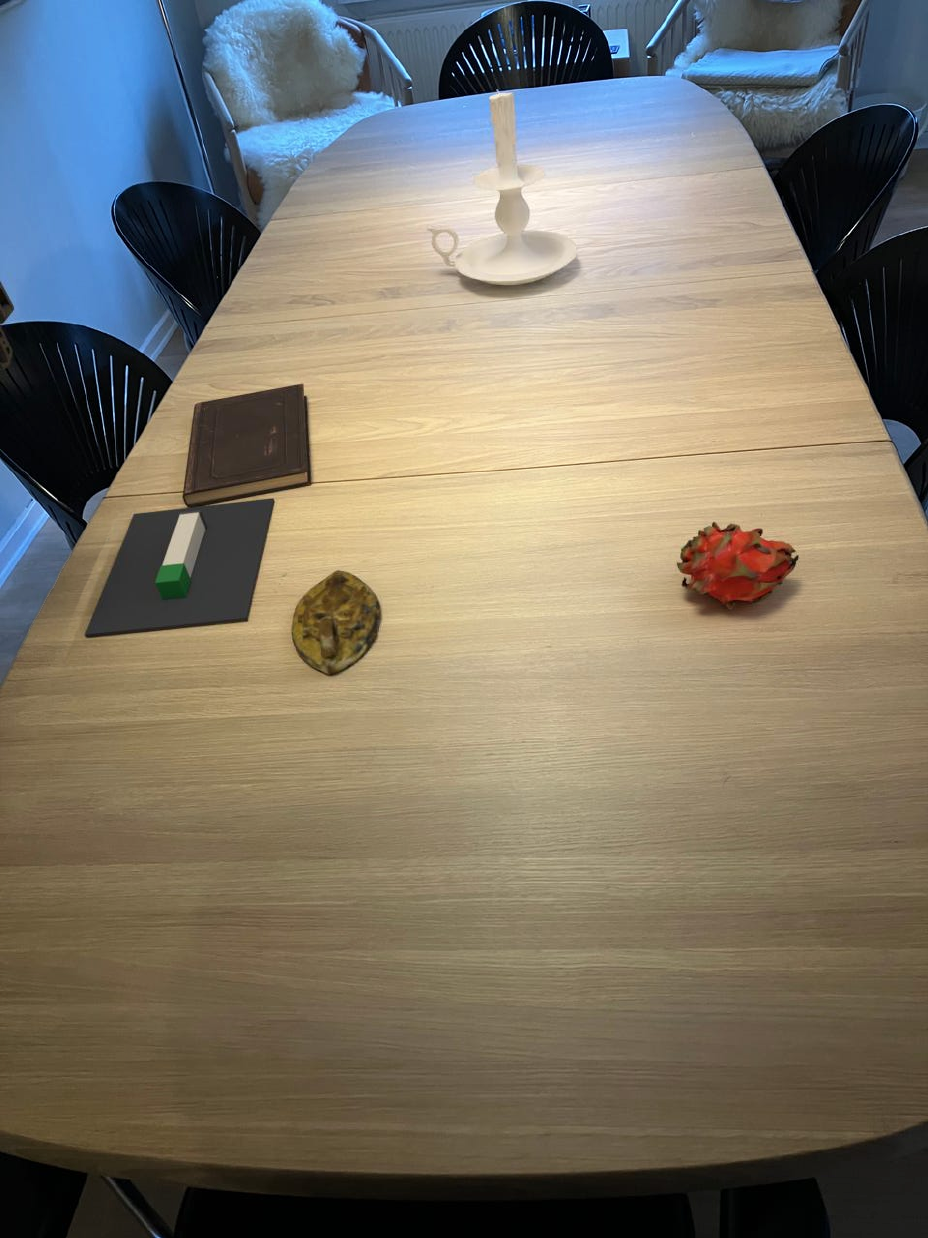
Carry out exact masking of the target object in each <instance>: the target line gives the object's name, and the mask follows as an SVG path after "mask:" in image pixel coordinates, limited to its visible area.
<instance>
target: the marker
mask: <svg viewBox="0 0 928 1238" xmlns="http://www.w3.org/2000/svg"><path fill="white" fill-rule="evenodd" d="M205 529H207V524H206V522H205V519H204V517H203V514H202V512H201V510H197V511H188V512H180V513H179V518H178V521H177V524H176V527H175V530H174V533H173V536H172V539H171V542H170V544H169V547H168V550H167V553H166V556H165V559H164V562H163V565H162V566H161V567H160V570H159V573H158V576H157V579H156V582H155V584H156V586H157V588H158V590H159V592H160V595H161V597H162V599H171V598H180V597H186V595H187V591H188V588H189V585H190V582H191V574H192V571H193V568H194V565H195V561H196V558H197V555H198V551H199V548H200V545H201V542H202V538H203V535H204V532H205Z"/></svg>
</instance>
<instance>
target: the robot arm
mask: <svg viewBox="0 0 928 1238" xmlns="http://www.w3.org/2000/svg"><path fill="white" fill-rule="evenodd" d="M14 311H15V306H14V304H13V302H12V301H11V299H10V296H9V295H8V293H7V290H6V289H5V288H4V286H3V283H2V281H0V371H2V370H6V369H7V368H8V366H9V365H10V364H11V362H12V357H13V352H14V351H13V349H12V347H11V345H10V343H9V341H8V339H7V336H6V334H5V332H4V330H3V328H2V326H1V325H4V324H5V322H6V321H7V320H8V318H9V317H10V316H11V315H12V313H13V312H14Z"/></svg>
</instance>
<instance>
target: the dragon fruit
mask: <svg viewBox="0 0 928 1238" xmlns="http://www.w3.org/2000/svg"><path fill="white" fill-rule="evenodd" d="M763 530H764V529H763V528H757V527H756V528H753V529H751V530H746V531H743V530H742V528H741V526H740V524H735V523H729V524H728V525H727V526H726V527H725V528H721V527H720V525H718V523H717V522H716V521H713V522H712V523H711V525H709V526H706V527H704V528H703V529H702V530H701V529H698V531H697V535H696V536H693V537H692V539H689V540H688V541H687V542H686V544H684V545H683V546H682V547H681V548H680V555H679V556H680V560H681V562H678V561H677V562H676V564H675V565H676V567H677V569H678V571H679V572H680V573H681V574H683V575H689V576H690V583H687V580H688V578H686V576H684V577H683V579H682V581H681V587H682V588H684V589H687V590H689V591H694V592H696V593H697V594H698V595H702V594H703V595H704V594H705V593H706V594H707V595H708V596H709V597H713V598H715V599H717V600H719V602H721V604H722V605H724V606H725V609H726V610H733V609H734V607H735V605H736V602H733V601H746V602H747V601H748V602H760V601H761V600H763V599H764V598H766V597H767V596H769V595H771V594H773V591H774V589H775V588H776V587H778V586H781V585H783V584H784V583H783V581H784V580H785V579H786V577H788V575H790V574H791V573H792V572H793V571H794V569H795V567H796V565H797V561H799V559H800V558H799V557H800V556H799V555H798V554H796V556H795V557H792V556H793V553H796V552H797V550H796V549H795V548H794V547H793V546H792V545H791V544H790V543H788V542H786V541H783V540H771V539H770V540H767V539H765V538H763V537H762V536H763V534H764V531H763Z"/></svg>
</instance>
